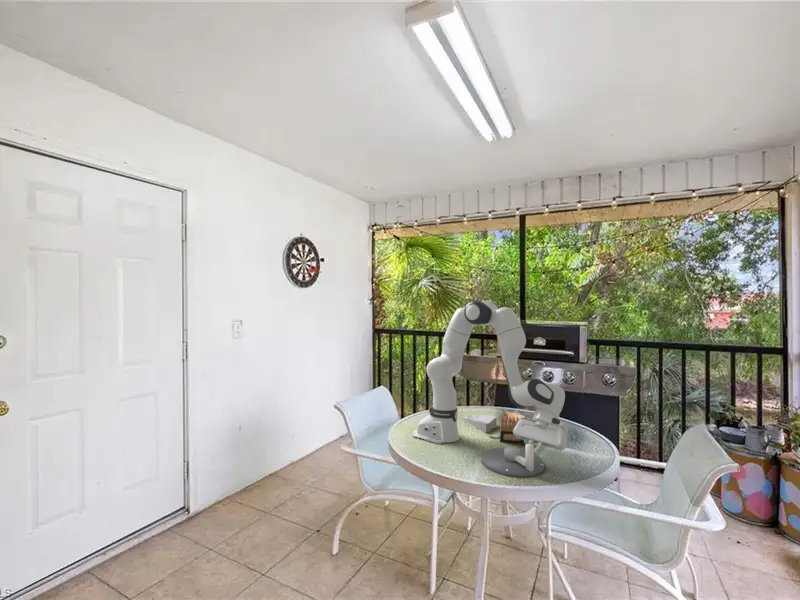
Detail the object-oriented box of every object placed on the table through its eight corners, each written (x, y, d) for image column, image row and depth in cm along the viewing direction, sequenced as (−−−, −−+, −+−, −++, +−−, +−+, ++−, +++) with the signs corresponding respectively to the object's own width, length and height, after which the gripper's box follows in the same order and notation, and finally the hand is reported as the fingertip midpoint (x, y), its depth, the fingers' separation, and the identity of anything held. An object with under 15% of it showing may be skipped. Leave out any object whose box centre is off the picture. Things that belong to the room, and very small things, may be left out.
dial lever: (501, 457, 152) (501, 434, 152) (513, 455, 154) (513, 432, 154) (525, 472, 138) (525, 447, 138) (538, 470, 140) (538, 445, 140)
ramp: (459, 417, 213) (459, 408, 213) (486, 417, 214) (486, 407, 214) (471, 434, 185) (471, 423, 185) (503, 434, 186) (503, 423, 186)
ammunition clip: (500, 441, 174) (499, 416, 174) (499, 440, 176) (499, 414, 176) (524, 444, 171) (524, 417, 172) (523, 442, 173) (523, 416, 173)
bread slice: (508, 414, 219) (508, 408, 219) (538, 421, 206) (538, 414, 206) (492, 421, 206) (492, 414, 206) (523, 429, 193) (523, 421, 193)
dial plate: (474, 469, 145) (474, 464, 145) (488, 448, 166) (488, 444, 166) (540, 482, 134) (540, 477, 134) (546, 457, 156) (546, 453, 156)
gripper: (517, 411, 155) (505, 441, 148) (567, 422, 140) (555, 456, 133) (523, 420, 158) (511, 449, 151) (572, 432, 143) (561, 465, 136)
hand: (532, 453), depth 142 cm, fingers closed, pressing on dial lever
